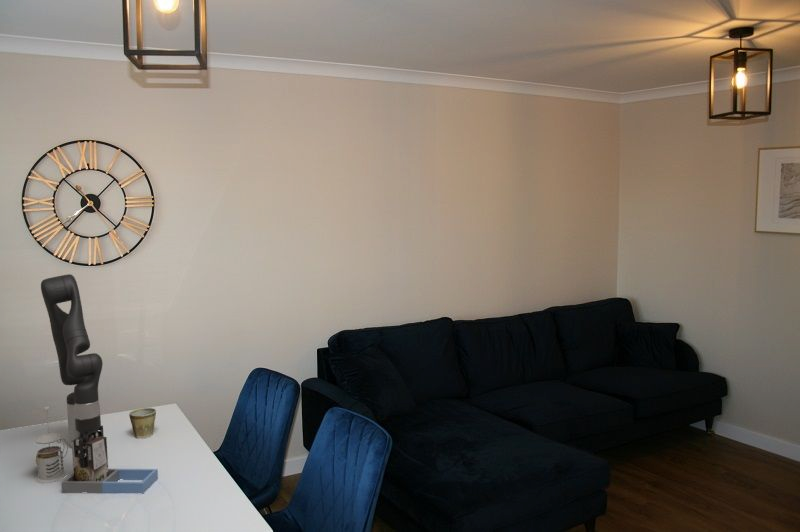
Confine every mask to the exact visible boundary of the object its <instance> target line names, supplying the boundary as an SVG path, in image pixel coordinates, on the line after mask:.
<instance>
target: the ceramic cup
mask: <svg viewBox="0 0 800 532" xmlns="http://www.w3.org/2000/svg"><path fill="white" fill-rule="evenodd" d="M156 413H157V410H156V408H153V407H143V408H136V409H133V410H131V411H130V412H129V415H128V416H129V420H130V423H131V427H132V431H133V435H134V437H135V438H136V439H137V438H144V439H148V438H150V436H151V435H152V436H153V435H154V429H155V422H156V421H155V420H156V416H157V415H156ZM152 436H151V437H152ZM147 437H148V438H147Z"/></svg>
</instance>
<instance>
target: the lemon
mask: <svg viewBox="0 0 800 532" xmlns="http://www.w3.org/2000/svg"><path fill="white" fill-rule="evenodd" d="M37 455H38V452H37V453H36V456H35V464H36V465H37V464H38V463H37ZM45 456H51V455H43V456H41V457H40V459H41V458H43V457H45ZM45 459H47V458H45ZM46 466H48V467H50V466H52V465H46Z"/></svg>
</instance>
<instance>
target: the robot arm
mask: <svg viewBox="0 0 800 532" xmlns="http://www.w3.org/2000/svg"><path fill="white" fill-rule="evenodd" d="M40 291H41V296H42V298H43V302H44V305H45V308H46V311H47V315H48V318H49V323H50V330H51V333H52V335H51V336H52V338H53V342H54V346H55V351H56V354H57V360H58V366H59V367H58V368H59V375H60V380H61V382H62V384H63V385H65V386H74V388H73V392H71V393H69V394H67V396H66V410H67V412H66V414H67V426H68V427H67V428H68V441H69V443H68V446H69V447H70V448H71V449H72V444H71V441H73V440H74V455H75V457H79V458H80V467H81V468H87V467H88V460H87V449H88V447H83V444H84V443H87V442H91V441H92V440H93V438H94V437H98V436H102V437H105V436H104V425H102V420H101V407H100V406H101V405H100V400H99V383H100V378H101V373H102V371H103V359H102V357H101V356H100V354H98V353H95V352H94V353H87V354H83V353H85V352H86V351H87V350H89V349H90V348H91V341H90V339H89V336H88V331H87V329H86V325H85V320H84V313H83V306H82V301H81V295H80V290H79V286H78V282H77V280H76V278H75V276H74V275H73V274H70V273H69V274H64V275H57V276H53V277H48V278H45V279H43V280H42V281H41V283H40ZM65 302H66V303H67V302H70V308H69V312H66V311H64V310H63V309H62V308H60V306H58V304H61V303H65ZM80 354H81V355H80ZM77 438H78V439H77ZM84 449H85V452H84ZM78 450H79V452H78Z"/></svg>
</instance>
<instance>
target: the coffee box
mask: <svg viewBox="0 0 800 532" xmlns="http://www.w3.org/2000/svg"><path fill="white" fill-rule="evenodd" d="M107 438H108V437H107V436H104V437H102V436H98V437H94V438H93V440H92V441H91V442H87V443H84V444H83V447H88V449H87V460H88V467H87V468H81V467H80V458H79V457H75V455H74V440H73V441H71V444H72V448H71V456H72V468H73V473H74V481H96V482H102V481H103V480H104V479H106V478H107V477H108V476H109V473H108V469H109V461H108V460H109V459H108V458H109V456H108V442H107ZM77 439H78V438H77ZM78 452H79V450H78ZM84 452H85V449H84Z"/></svg>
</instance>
